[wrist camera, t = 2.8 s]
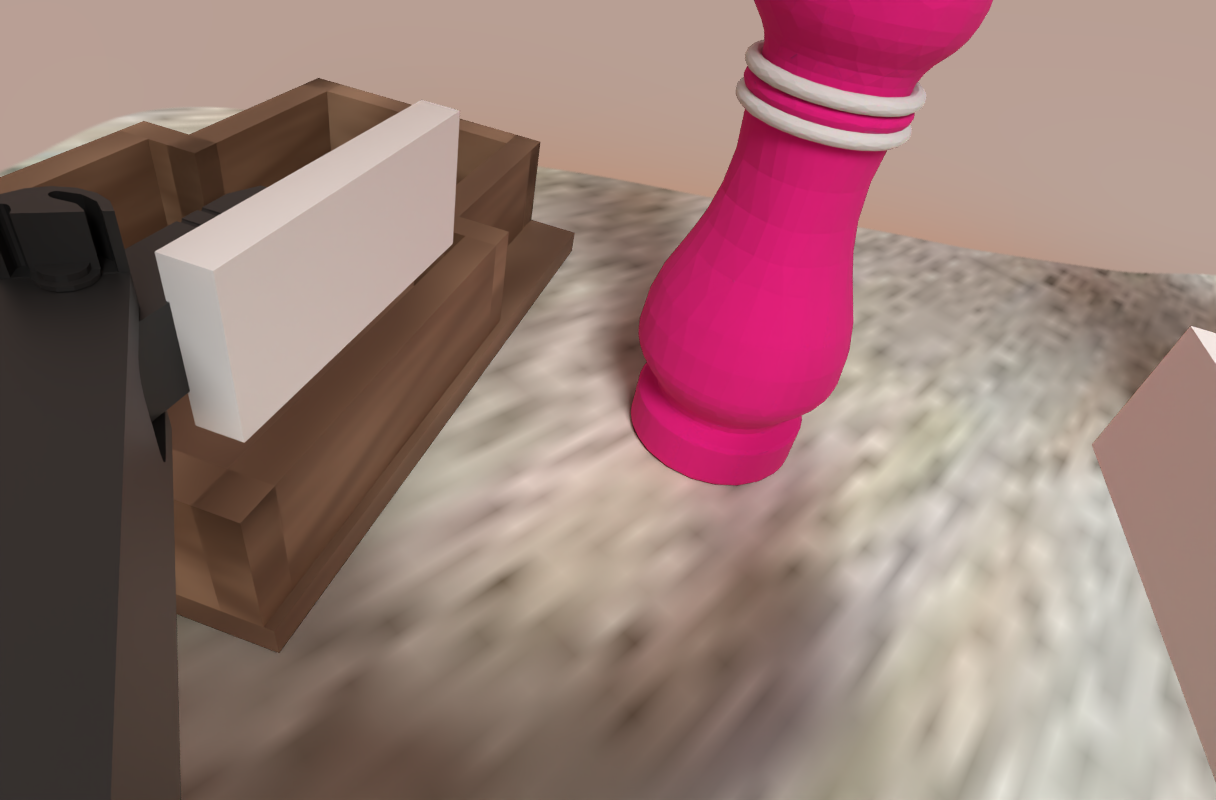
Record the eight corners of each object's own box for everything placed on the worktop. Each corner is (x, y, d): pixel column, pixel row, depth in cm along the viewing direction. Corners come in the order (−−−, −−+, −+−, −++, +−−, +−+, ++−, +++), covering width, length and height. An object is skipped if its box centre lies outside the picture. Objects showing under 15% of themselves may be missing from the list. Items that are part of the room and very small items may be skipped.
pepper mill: (720, 354, 33) (920, -233, 20) (837, 463, 28) (1186, -194, 16) (582, 393, 29) (719, -297, 16) (693, 524, 25) (996, -267, 12)
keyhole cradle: (571, 250, 37) (586, 155, 34) (278, 653, 19) (252, 527, 16) (286, 164, 39) (275, 65, 36) (-236, 456, 21) (-353, 308, 17)
